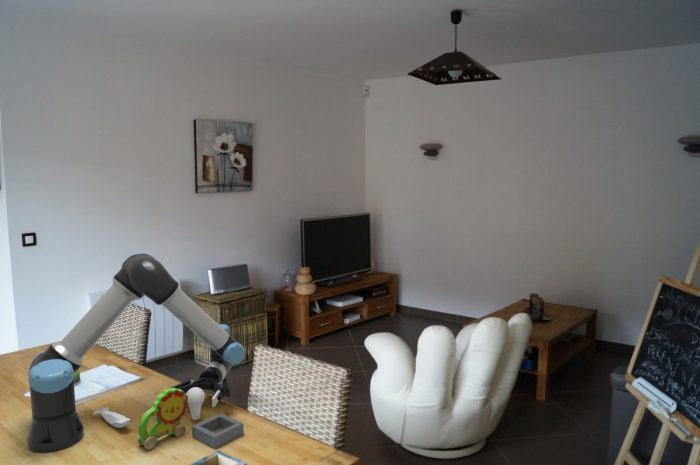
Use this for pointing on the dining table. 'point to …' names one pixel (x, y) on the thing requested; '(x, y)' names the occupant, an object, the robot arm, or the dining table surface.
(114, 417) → the white fish figurine
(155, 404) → the toy lion
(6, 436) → the dining table surface
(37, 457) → the dining table surface
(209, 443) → the frame
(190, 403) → the lightbulb
